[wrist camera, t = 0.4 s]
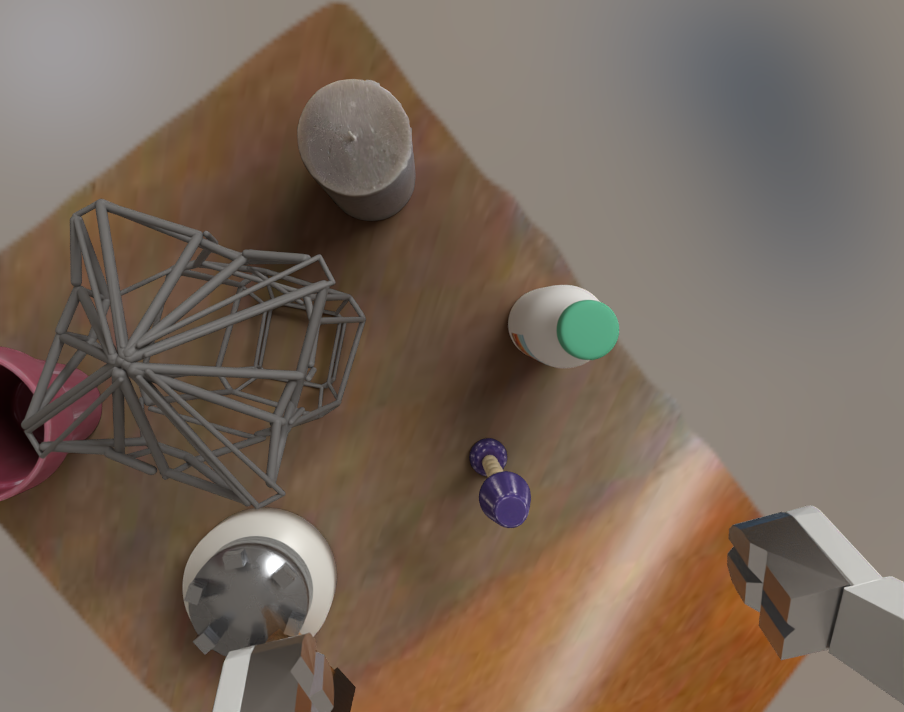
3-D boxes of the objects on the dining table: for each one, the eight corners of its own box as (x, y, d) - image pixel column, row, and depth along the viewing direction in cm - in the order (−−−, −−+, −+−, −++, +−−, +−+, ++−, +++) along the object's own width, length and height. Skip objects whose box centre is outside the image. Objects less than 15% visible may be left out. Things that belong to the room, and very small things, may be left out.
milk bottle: (495, 307, 62) (522, 306, 42) (558, 276, 62) (615, 260, 42) (525, 370, 63) (566, 398, 43) (588, 339, 63) (658, 353, 43)
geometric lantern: (216, 391, 62) (-72, 476, 27) (252, 252, 62) (3, 157, 27) (355, 429, 63) (245, 559, 28) (392, 292, 62) (327, 249, 27)
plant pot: (133, 349, 62) (53, 359, 49) (122, 474, 63) (41, 516, 50) (-1, 332, 61) (-116, 338, 48) (-10, 459, 62) (-125, 497, 50)
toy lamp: (513, 439, 64) (540, 485, 47) (510, 480, 64) (535, 540, 47) (470, 436, 63) (482, 482, 47) (467, 477, 64) (477, 536, 47)
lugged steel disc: (177, 584, 61) (142, 620, 54) (261, 513, 60) (238, 540, 53) (306, 724, 62) (290, 777, 55) (390, 656, 62) (384, 701, 55)
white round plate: (366, 583, 64) (362, 597, 61) (259, 671, 65) (250, 689, 62) (272, 478, 63) (263, 487, 60) (164, 568, 64) (150, 582, 61)
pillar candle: (318, 210, 61) (281, 179, 46) (335, 119, 60) (304, 57, 45) (406, 230, 62) (398, 206, 47) (425, 140, 61) (423, 86, 46)
